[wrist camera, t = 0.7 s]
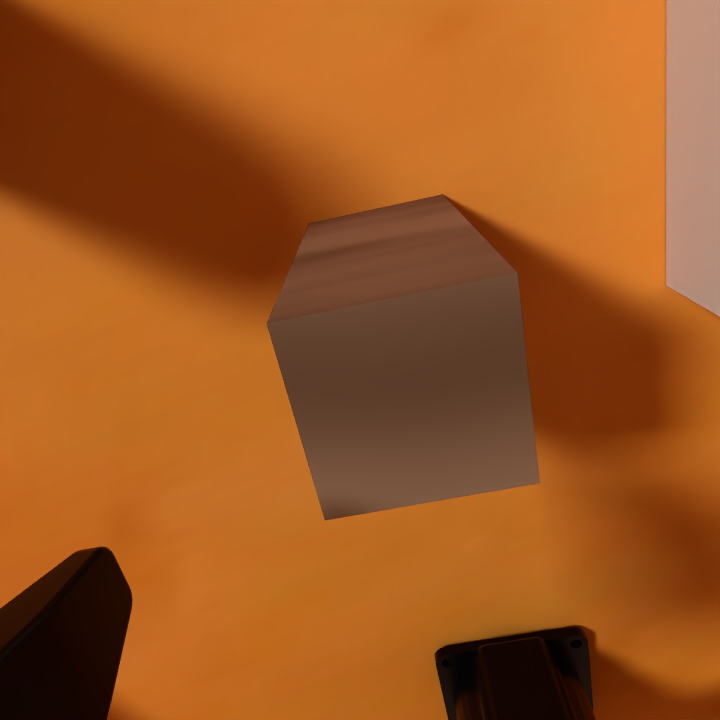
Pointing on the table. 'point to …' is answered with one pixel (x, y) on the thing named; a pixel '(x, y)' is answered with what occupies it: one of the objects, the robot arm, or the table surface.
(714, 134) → the well block
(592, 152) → the table surface
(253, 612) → the table surface
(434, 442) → the walnut post
